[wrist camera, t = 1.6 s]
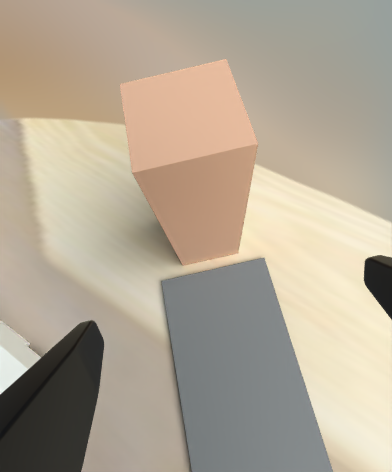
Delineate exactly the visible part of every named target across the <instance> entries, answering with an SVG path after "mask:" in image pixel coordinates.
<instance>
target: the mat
mask: <svg viewBox="0 0 392 472" xmlns="http://www.w3.org/2000/svg"><path fill="white" fill-rule="evenodd" d="M162 287H163V293H164V300H165V306H166V312H167V318H168V325H169V331H170V337H171V343H172V350H173V356H174V362H175V368H176V375H177V381H178V387H179V393H180V400H181V406H182V412H183V418H184V425H185V431H186V437H187V443H188V450H189V456H190V462H191V469H192V472H333V470H332V467H331V464H330V461H329V458H328V455H327V451H326V448H325V445H324V442H323V439H322V436H321V433H320V430H319V427H318V423H317V420H316V417H315V414H314V411H313V408H312V405H311V402H310V399H309V395H308V392H307V389H306V386H305V383H304V380H303V377H302V374H301V371H300V367H299V364H298V361H297V358H296V355H295V352H294V349H293V346H292V343H291V339H290V336H289V333H288V330H287V327H286V324H285V321H284V318H283V315H282V311H281V308H280V305H279V302H278V299H277V296H276V293H275V290H274V287H273V283H272V280H271V277H270V274H269V271H268V268H267V265H266V262H265V259H264V258H260V259H256V260H252V261H247V262H243V263H238V264H234V265H230V266H225V267H221V268H216V269H212V270H208V271H203V272H199V273H195V274H190V275H186V276H181V277H177V278H173V279H168V280H164V281H162Z"/></svg>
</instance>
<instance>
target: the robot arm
mask: <svg viewBox="0 0 392 472" xmlns="http://www.w3.org/2000/svg"><path fill="white" fill-rule="evenodd" d="M364 282H365V285H366V287H367V288H368V289H369V291H370V292H371V293H372V295H373V296H374V297H375V299H376V300H377V301H378V302H379V304H380V305H381V306H382V308H383V309H384V310H385V312H386V313H387V314H388V316H389V317H390V318H391V319H392V258H391V257H387V256H382V255H377V256H373V257H369V258H367V259H366V260H365V267H364ZM103 351H104V340H103V337H102V335H101V333H100V331H99V329H98V326H97V324H96V323H95V321H93V320H90V321H86V322H82V323H80V324H79V325H77V326H76V327H75V328H74V329H73V330H72V331H71V332H70V333H68V334H67V335H66V336H65V337H64V338H63V339H62V340H61V341H60V342H58V343H57V344H56V345H55V346H54V347H53V348H52V349H51V350H49V351H48V352H47V353H46V354H45V355H44V356H43V357H42V358H40V359H39V360H38V361H37V362H36V363H35V364H34V365H33V366H31V367H30V368H29V369H28V370H27V371H26V372H25V373H24V374H23V375H21V376H20V377H19V378H18V379H17V380H16V381H15V382H14V383H12V384H11V385H10V386H9V387H8V388H7V389H6V390H5V391H3V392H2V393H1V394H0V472H81V470H82V466H83V461H84V457H85V452H86V448H87V443H88V439H89V434H90V430H91V425H92V421H93V416H94V412H95V407H96V403H97V398H98V393H99V386H100V377H101V369H102V360H103Z"/></svg>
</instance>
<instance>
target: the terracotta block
mask: <svg viewBox="0 0 392 472" xmlns="http://www.w3.org/2000/svg"><path fill="white" fill-rule="evenodd" d="M120 88H121V95H122V102H123V110H124V117H125V124H126V131H127V138H128V146H129V153H130V160H131V167H132V173H133V175H134V177H135V179H136V181H137V182H138V184H139V186H140V188H141V190H142V192H143V193H144V195H145V197H146V199H147V201H148V203H149V205H150V206H151V208H152V210H153V212H154V214H155V216H156V217H157V219H158V221H159V223H160V225H161V227H162V228H163V230H164V232H165V234H166V236H167V238H168V239H169V241H170V243H171V245H172V247H173V249H174V250H175V252H176V254H177V256H178V258H179V260H180V261H181V263H182V265H188V264H192V263H197V262H201V261H205V260H210V259H214V258H218V257H223V256H227V255H232V254H236V253H238V251H239V246H240V240H241V235H242V229H243V224H244V218H245V213H246V207H247V202H248V196H249V191H250V185H251V180H252V175H253V169H254V164H255V158H256V153H257V147H258V142H257V139H256V137H255V134H254V131H253V129H252V126H251V123H250V121H249V118H248V116H247V113H246V110H245V107H244V105H243V102H242V99H241V97H240V94H239V91H238V89H237V86H236V84H235V81H234V78H233V76H232V73H231V70H230V68H229V65H228V62H227V60H226V59H224V60H220V61H215V62H211V63H207V64H203V65H198V66H194V67H190V68H186V69H182V70H177V71H173V72H169V73H165V74H160V75H156V76H152V77H148V78H144V79H140V80H135V81H131V82H127V83H122V84H120Z"/></svg>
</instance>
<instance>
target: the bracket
mask: <svg viewBox="0 0 392 472" xmlns="http://www.w3.org/2000/svg"><path fill="white" fill-rule="evenodd" d="M29 345H30V343H29V342H28V341H26V340H25V339H24V338H23V337H21V336H20V335H19V334H18V333H16V332H15V331H14V330H13V329H11V328H10V327H9V326H8V325H7V324H5V323H4V322H3V321H0V394H1V393H2V392H3V391H5V390H6V389H7V388H8V387H9V386H10V385H11V384H12V383H14V382H15V381H16V380H17V379H18V378H19V377H20V376H21V375H23V374H24V373H25V372H26V371H27V370H28V369H29V368H30V367H31V366H33V365H34V364H35V363H36V362H37V361H38V360H39V359H40V358H41V357H40V356H39V355H38V354H36V353H35V352H34V351H33V350H31V349H30V348H29V347H28V346H29Z"/></svg>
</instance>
